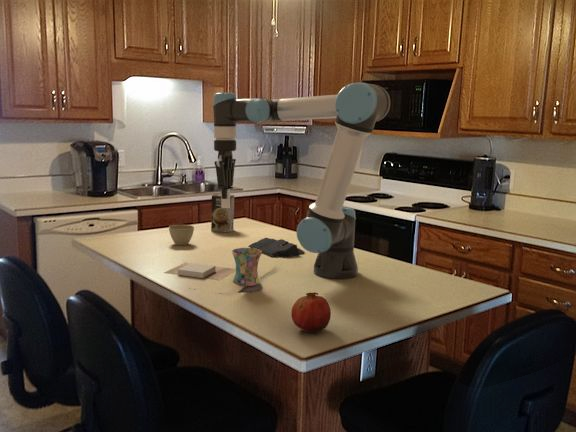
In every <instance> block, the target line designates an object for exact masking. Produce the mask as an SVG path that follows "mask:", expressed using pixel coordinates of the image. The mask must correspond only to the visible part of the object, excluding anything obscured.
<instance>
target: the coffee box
mask: <svg viewBox="0 0 576 432" xmlns="http://www.w3.org/2000/svg"><path fill="white" fill-rule="evenodd" d="M210 213H211V220H210V221H211V223H210V224H211V225H210V226H211V227H210V231H211V230H212V231H211V232H220V231H226V232H225V233H231V232H233V231H234V230H233V229H234V225H235V223H234V220H235V219H234V217H235V216H234V215H235V195H234V194H233V195H232V194H230V208H221V193H220V194H219V193H218V194H217V193H215V194H212V195H211V212H210ZM230 231H231V232H230Z"/></svg>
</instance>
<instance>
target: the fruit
mask: <svg viewBox="0 0 576 432" xmlns="http://www.w3.org/2000/svg"><path fill="white" fill-rule="evenodd" d="M290 313H291V319H292V322H293V324H294V325H295V326H296V327H297V328H299V329H300V330H302V331H304V332H306V333H317V332H321V331H323V330H325V329H326V328H327V327H328V325H329V324H330V321H331V314H332V312H331V308H330V304H329V302H328V301H327V299H326V298H325V297H323V296H320V295H319V293H318V292H306V293H305V295H304V296H301V297H299V298H298V299H297V300H296V301H295V302H294V304H293V305H292V307H291V312H290Z"/></svg>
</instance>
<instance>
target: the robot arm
mask: <svg viewBox="0 0 576 432" xmlns="http://www.w3.org/2000/svg"><path fill="white" fill-rule="evenodd" d="M390 98H391V97H390V94H389V93H388V91H387V90H386V89H385V88H383V87H382V86H380V85H377V84H374V83H373V84H372V83H366V82H362V81H357V82H351V83H349V84H347V85H345V86H344V87H342V88H341V90H340V91H339V92H338V93H337V94H329V95H313V96H301V97H289V98H277V99H275V98H274V99H264V98H257V97H255V98H237V95H236V94H235V92H216V93H215V94H214V95H213V105H212V108H213V110H212V111H213V130H212V132H213V137H214V140H213V150H214V151H215V152H217V160H214V162H213V164H214V165H215V173H216V179H217V180H216V181H217V189H218V190H220V191H221V193H220V194H221V208H230V195H231V190H233V188H234V187H233V185H234V178H235V177H234V175H235V165H236V158H233V152H235V151H237V140H236V138H237V123H239V122H241V123H242V122H245V123H261V122H262V123H263V122H264V123H265V122H266V123H267V122H269V123H276V122H284V121H286V122H287V121H306V120H323V119H335V120H334V123H335V125H336V128H337V131H336V135H335V138H334V141H333V145H332V147H331V151H330V154H329V158H328V161H327V164H326V167H325V170H324V173H323V177H322V180H321V183H320V187H319V190H318V194H317V197H316V199H315V202H313V203H310V204H309V206H308V208H307V213H306V214H305V215H306V216H305V218H303V219H302V220H301V221H300V222H299V223H298V225H297V227H296V238H297V241H298V242H299V244H300V245H301V247H302V248H303V249H304V250H305V251H307V252H309V253H313V254H317V256H316V259H315V261H314V264H313V274H315V275H317V276H319V277H322V278H327V279H328V278H329V279H339V280H340V279H351V278H355V277H356V276H358V273H359V267H358V264H357V263H358V262H357V260H356V256H355V252H354V249H355V248H354V247H355V232H356V220H357V218H356V209H354V208H352V207H347V206H346V207H345V206H344V204H345V201H346V197H347V195H348V191H349V189H350V185H351V183H352V179H353V176H354V173H355V171H356V167H357V165H358V164H357V163H358V161H359V157H360V154H361V151H362V149H363V145H364V143H365V139H366V138H367V137H368V136H370V135H372V134H373V130H374V128H375V124H376V122H380V121H381V120H383V119H384V118H385V117H387V115H388V114H389V111H390V107H391V99H390Z"/></svg>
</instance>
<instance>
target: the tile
mask: <svg viewBox="0 0 576 432" xmlns="http://www.w3.org/2000/svg"><path fill="white" fill-rule="evenodd" d="M189 263H190V264H188V265H186V266H184V267H182V268H179V269H178V275H179V276H182V277H183V276H185V277H189V278H191V277H192V278H198V279H205V278H204V277H206V276H208V275H209V274H211V273H213V272H215V271H216V267H217V266H216V265H212V264H204V263H197V262H189ZM178 275H177V276H178Z"/></svg>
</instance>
